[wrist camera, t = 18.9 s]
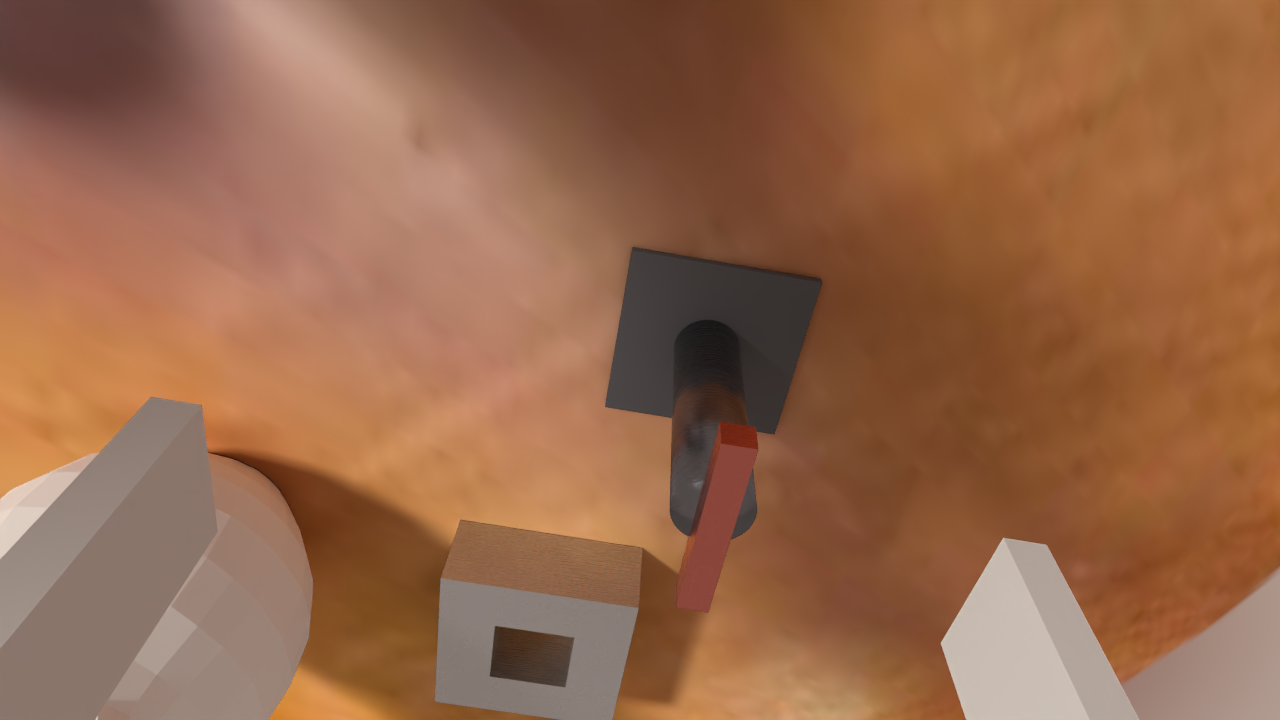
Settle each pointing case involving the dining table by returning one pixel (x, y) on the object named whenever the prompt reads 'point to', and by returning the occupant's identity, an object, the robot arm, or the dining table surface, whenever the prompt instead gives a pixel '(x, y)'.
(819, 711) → the dining table surface
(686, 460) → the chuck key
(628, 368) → the mat
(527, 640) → the block
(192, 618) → the white vase
